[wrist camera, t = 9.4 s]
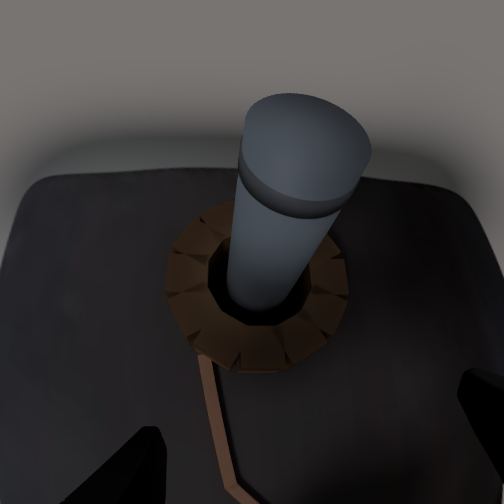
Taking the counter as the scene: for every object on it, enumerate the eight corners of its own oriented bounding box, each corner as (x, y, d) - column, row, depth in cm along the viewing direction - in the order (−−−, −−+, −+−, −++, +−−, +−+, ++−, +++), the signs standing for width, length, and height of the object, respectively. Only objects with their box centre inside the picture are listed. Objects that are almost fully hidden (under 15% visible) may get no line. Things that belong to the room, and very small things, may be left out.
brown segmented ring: (289, 402, 16) (301, 402, 14) (140, 315, 17) (130, 302, 15) (353, 266, 21) (368, 249, 18) (226, 198, 22) (228, 175, 20)
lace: (289, 533, 12) (291, 537, 12) (240, 543, 12) (240, 547, 11) (248, 348, 17) (249, 346, 17) (197, 355, 17) (197, 354, 16)
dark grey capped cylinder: (289, 316, 18) (392, 182, 7) (227, 322, 18) (252, 180, 7) (279, 261, 20) (348, 98, 9) (221, 265, 20) (236, 90, 8)
